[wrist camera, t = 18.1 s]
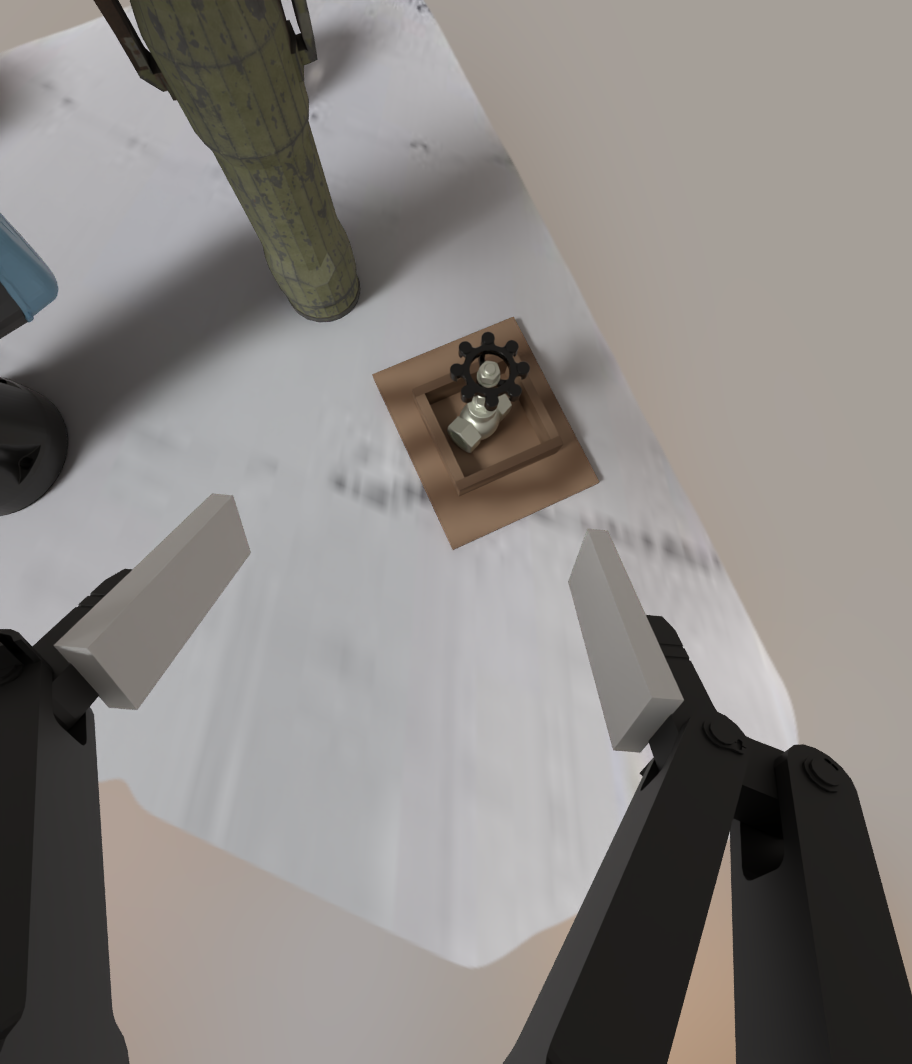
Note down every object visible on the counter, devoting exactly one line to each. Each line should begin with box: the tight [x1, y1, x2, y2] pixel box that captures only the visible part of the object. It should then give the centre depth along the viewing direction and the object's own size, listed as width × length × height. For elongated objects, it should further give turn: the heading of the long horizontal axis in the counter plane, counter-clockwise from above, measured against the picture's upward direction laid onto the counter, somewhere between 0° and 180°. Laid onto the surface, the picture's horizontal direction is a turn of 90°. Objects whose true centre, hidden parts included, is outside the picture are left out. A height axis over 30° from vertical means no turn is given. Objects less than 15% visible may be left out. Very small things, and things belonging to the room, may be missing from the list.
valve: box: [447, 332, 530, 453], centre depth 38 cm, size 7×7×12 cm
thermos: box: [94, 0, 360, 322], centre depth 29 cm, size 9×12×35 cm
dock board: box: [372, 317, 599, 550], centre depth 42 cm, size 22×18×4 cm
